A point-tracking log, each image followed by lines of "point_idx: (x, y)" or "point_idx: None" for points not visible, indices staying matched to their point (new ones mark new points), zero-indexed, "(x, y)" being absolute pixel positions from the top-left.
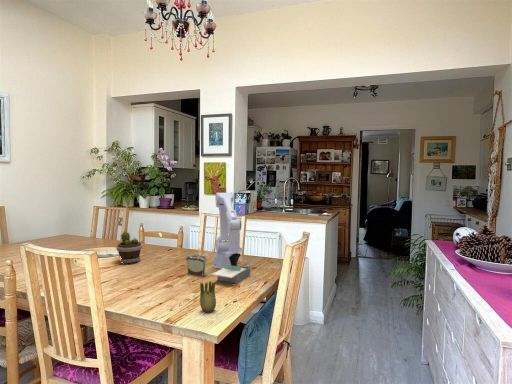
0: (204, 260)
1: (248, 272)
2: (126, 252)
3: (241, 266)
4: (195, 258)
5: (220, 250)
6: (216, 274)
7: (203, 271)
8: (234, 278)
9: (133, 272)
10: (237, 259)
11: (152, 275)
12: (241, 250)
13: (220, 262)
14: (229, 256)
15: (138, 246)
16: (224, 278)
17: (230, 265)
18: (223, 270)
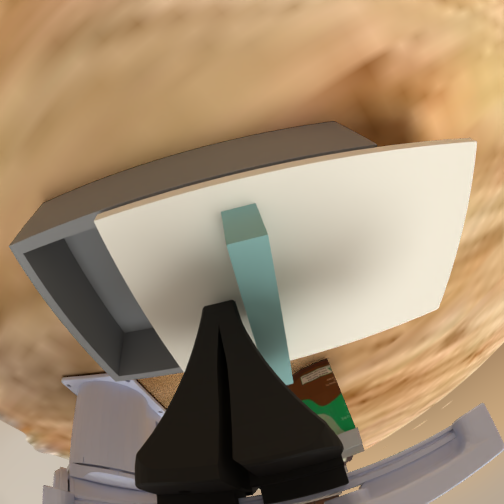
0: (361, 442)
1: (57, 208)
2: None
3: (70, 321)
4: (349, 460)
5: (151, 497)
6: (446, 282)
7: (330, 386)
8: None
9: (367, 434)
10: (211, 397)
11: (374, 415)
12: (51, 499)
13: (145, 427)
14: (479, 415)
15: (310, 501)
16: None
17: (271, 352)
18: (336, 324)
